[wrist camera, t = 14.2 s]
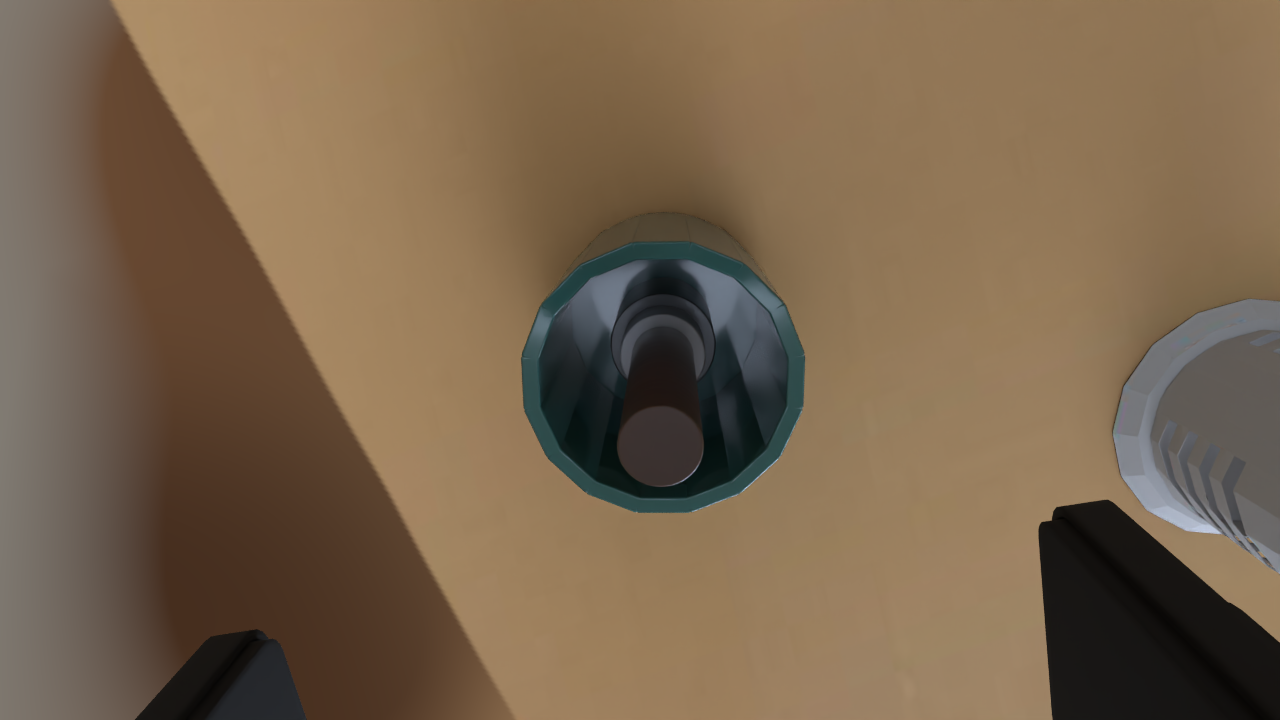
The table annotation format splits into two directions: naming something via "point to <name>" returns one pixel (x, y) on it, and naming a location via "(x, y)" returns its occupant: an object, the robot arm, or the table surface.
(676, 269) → the cup
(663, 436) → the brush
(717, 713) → the table surface
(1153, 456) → the french press
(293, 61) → the table surface
